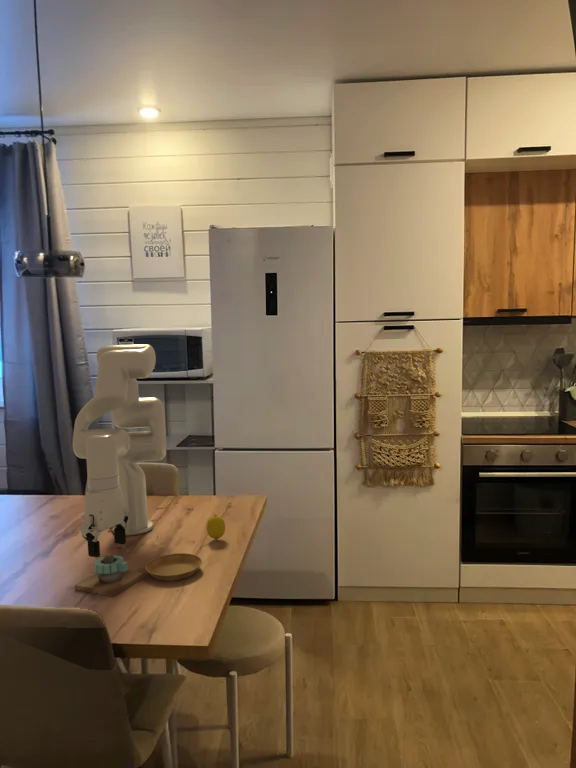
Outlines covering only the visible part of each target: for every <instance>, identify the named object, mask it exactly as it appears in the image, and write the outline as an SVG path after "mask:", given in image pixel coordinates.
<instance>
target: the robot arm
mask: <svg viewBox="0 0 576 768" xmlns="http://www.w3.org/2000/svg"><path fill="white" fill-rule="evenodd" d="M96 360H97V361H96V362H97V363H98V364H97V373H96V384H95V385H96V386H95V395H94V396H93V397H92V398H91V399H90V400H89V401H88V402H86V403H85V404H84V405H83V407H82V408H81V409H80V410H79V412H78V414H77V416H76V418H75V420H74V427H73V435H72V451H73V453H74V455H75V456H76V457H77V458H79V459H84V460H86V473H87V488H88V490H87V491H86V493H85V499H84V514H83V515H84V521H83V523H82V524H81V525H80V526H79V532H80V533H81V535H82V536H81V537H82V538H83V539H84V540H85V541H86V542H87V551H88V554H87V555H88V556H89V557H92V558H101V546H100V545H101V544H100V540H99V537H100V535H101V533H102V532H105V531H106V530H110V529H112V532H113V536H114V543H115V544H116V545H126V543H127V537H126V536H137V535H141V534H144V533H148V532H150V531H151V530H153V528H154V524H153V522H152V521H151V520H149V519H148V515H149V514H148V503H147V502H148V501H147V500H148V499H147V486H146V485H147V484H146V474H145V472H144V470H143V468H141V466H140V465H139V464H138V463H140V462H156V461H162V460H163V459H164V458H165V457H166V455H167V438H166V437H167V436H166V422H165V411H164V410H165V409H164V405H163V403H162V400H160V399H159V398H157V397H151V396H150V397H140V394H139V383H138V380H137V379H147V378H149V377H150V376H151V374H152V372H153V370H154V369H155V366H156V360H157V357H156V351H155V349H154V347H153V346H152V345H151V344H143V343H142V344H140V343H139V344H115V345H106V346H102V347H100V348H98V350H97V351H96ZM108 413H111V416H112V421H113V424H114V426H115V427H117V428H98V429H97V428H96V429H89V428H90V425H91V424H92V423H93V422H94V421H95V420H97V419H98V418H100V417H102V416H104V415H106V414H108ZM140 428H142V429H143V428H146V429H149V431H148V430H146V431H130V432H129V431H126V430H125V429H140Z"/></svg>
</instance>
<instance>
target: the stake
mask: <svg viewBox="0 0 576 768" xmlns="http://www.w3.org/2000/svg"><path fill="white" fill-rule="evenodd" d="M113 555H114V554H109V555H108V554H107V555H105V556H103V557H104V564H109V563H113V562H114V556H113ZM144 578H145V572H142V571H141V572H140V571H134V570H129V569H128V570H127V571H125V572H120V571H117V572H114V573H110V574H104V573H103V574H100V573H96V572H95V573H94V574H92V575H90V576H89V577H86V578H85V579H82V580H81V581H79V582H78V583H76V584H74V589H77V590H76V591H80V590H81V592H85V591H86V593H91V594H96V593H98V594H97V595H101V594H102V595H101V596H107V595H108V597H112V596H113V598H114V597H116V596H117V595H119V594H120V593H122V592H124V591H125V590H127V589H128V588H130V587H132V586H133V585H134V584H136V583H138V582H139V581H141V580H143V579H144ZM123 590H124V591H123ZM115 595H116V596H115Z"/></svg>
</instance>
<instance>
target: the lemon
mask: <svg viewBox="0 0 576 768" xmlns="http://www.w3.org/2000/svg"><path fill="white" fill-rule="evenodd" d="M225 531H226V524H225V521H224V519H223V517H222V516H220V515H217V514H213V515H212V516H210V517H209V518H208V519H207V522H206V532H207V533H206V534H208V536H209V538H211V539H213V540H215V541H218V540H219V539H220V538H222V537H223V536H224V534H225Z"/></svg>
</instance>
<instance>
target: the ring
mask: <svg viewBox="0 0 576 768" xmlns="http://www.w3.org/2000/svg"><path fill="white" fill-rule="evenodd" d="M112 555H113V556H114V562H113V563H109V564H104V557H105V556H102V557H101V556H100V557H98V559H95V561H94V564H93V567H94V568H93V569H94V572H95V574H96V573H100V574H103V573H104V574H110V573H114V572H117V571H120V572H125V571H127V570H129V565H128V562H129V561H124V559H125V558H124V557H123V556H121V555H114V554H112Z"/></svg>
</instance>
